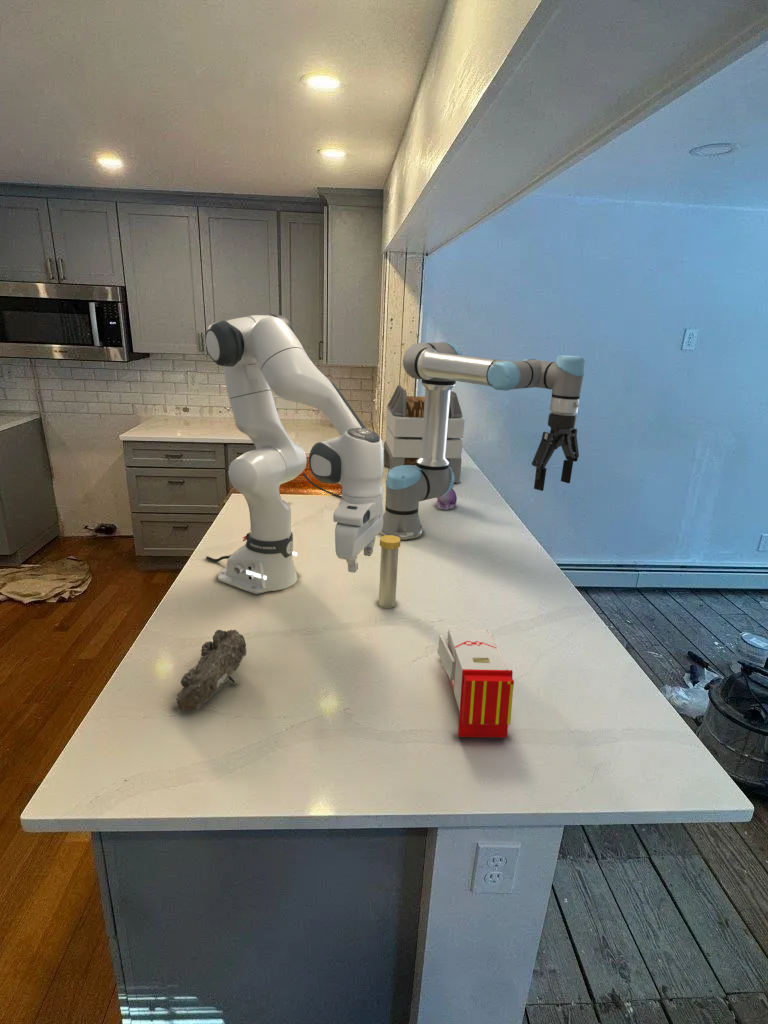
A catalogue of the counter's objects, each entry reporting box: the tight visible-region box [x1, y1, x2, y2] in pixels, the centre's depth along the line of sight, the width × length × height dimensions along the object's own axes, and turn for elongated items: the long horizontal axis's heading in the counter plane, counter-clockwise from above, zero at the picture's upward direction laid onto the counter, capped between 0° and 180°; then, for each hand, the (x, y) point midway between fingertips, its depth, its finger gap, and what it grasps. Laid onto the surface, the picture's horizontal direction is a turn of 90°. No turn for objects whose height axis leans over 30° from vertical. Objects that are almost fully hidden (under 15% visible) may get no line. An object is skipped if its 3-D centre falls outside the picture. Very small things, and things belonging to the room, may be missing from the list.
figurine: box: [435, 486, 458, 511], centre depth 227 cm, size 9×10×15 cm
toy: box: [437, 628, 515, 738], centre depth 117 cm, size 12×13×30 cm
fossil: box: [175, 629, 247, 711], centre depth 117 cm, size 22×10×15 cm
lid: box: [379, 535, 402, 549], centre depth 146 cm, size 5×5×2 cm
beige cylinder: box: [378, 546, 400, 609], centre depth 149 cm, size 4×4×18 cm
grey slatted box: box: [383, 384, 465, 484], centre depth 268 cm, size 34×33×41 cm
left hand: (360, 562), depth 127 cm, fingers open, 8 cm apart
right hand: (552, 485), depth 166 cm, fingers open, 13 cm apart
